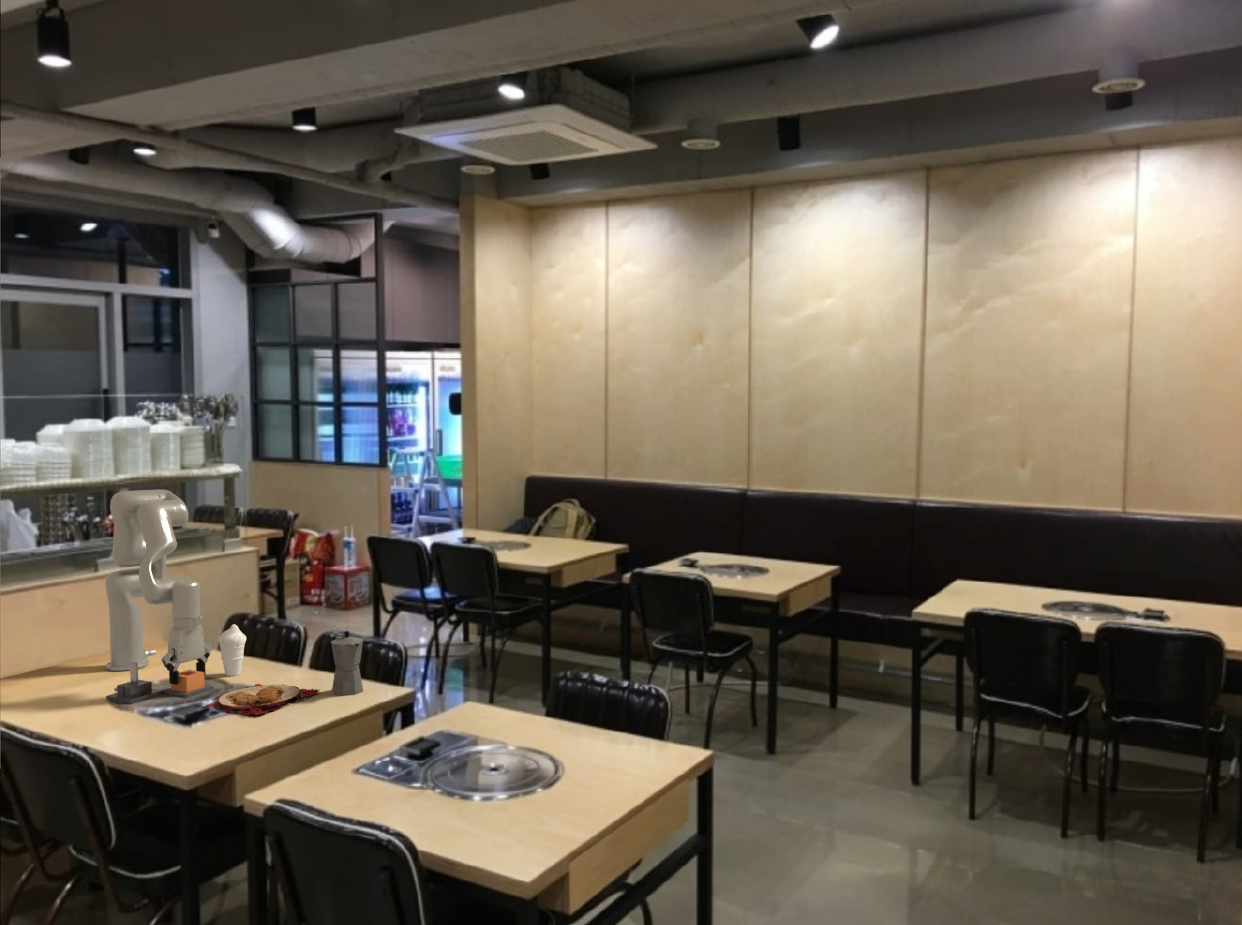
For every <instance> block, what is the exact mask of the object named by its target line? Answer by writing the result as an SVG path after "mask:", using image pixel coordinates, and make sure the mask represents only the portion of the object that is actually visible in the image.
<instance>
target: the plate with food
mask: <svg viewBox="0 0 1242 925" xmlns="http://www.w3.org/2000/svg"><path fill="white" fill-rule="evenodd" d="M319 692H320V689H317V688H315V689H314V688H311V689H307V688H303V687H301V688H299V687H298V686H296V685H295V686H294V685H287V684H280V683H279V684H268V685H266V684H265V685H264V684H260V683H256V684H254V685H253V686H252V685H251V686H249V687H243V688H240V689H236V690H229V691H228V692H225V693H224V694H222V695H221V696H216V698H215V699H214V700H215V701H217V704H214V703H215V701H212V702H211V703H209V704H206V705H204V706H202V708H204V709H210V708H211V707H212V708H213V709H214V708H218V710H219V709H220V710H221V711H220V712H221V713H226V714H234V713H235V711H234V710H236V712H237V713H239V714H240V715H243V716H250V715H251V716H253V715H255V716H259V715H260V716H261V715H266V714H267V713H268V712H275V711H277V709H280V708H282V707H285V706H286V705H288V706H290V705H291V703H290V702H287V701H288V700H290V699H293V698H296V699H297V700H296V701H295V703H296V702H300V701H305V700H307V698H308V697H311V696H313V695H316V694H317V693H319ZM285 702H287V703H285ZM222 709H224V710H223V711H222ZM247 709H249V711H248V710H247Z"/></svg>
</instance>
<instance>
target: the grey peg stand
mask: <svg viewBox="0 0 1242 925" xmlns="http://www.w3.org/2000/svg"><path fill="white" fill-rule="evenodd" d="M129 671H130V673H129V674H130V681H127V682H125V683H121V684H118V685H116V687H114V689H113V691H115V693H111V694H108V695H105V701H110V702H116V703H120V704H121V703H122V704H123V703H124V704H127V705H132V704H136V703H139V702H141V701H142V702H143V701H145V700H149V699H152V698H155V697H159V696H161V695H164V694H163V690H162V689H157V688H153V686H152V681H149V680H143V679H139V668H138V662H132V663H130V670H129Z"/></svg>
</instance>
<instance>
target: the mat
mask: <svg viewBox="0 0 1242 925" xmlns="http://www.w3.org/2000/svg"><path fill="white" fill-rule="evenodd" d="M204 685H205V687H203V688H200V689H197V690H194V691H190V692H181V691H174V690H171V688H167V689H164V690H163V695H168V696H176V697H181V698H189V697H192V696H196V695H199V694H203V693H205V691H206V692H209V691H211V690H210V689H212V690H215V686H213V685H207V684H204ZM208 690H209V691H208ZM202 692H203V693H202Z"/></svg>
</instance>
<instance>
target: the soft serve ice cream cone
mask: <svg viewBox="0 0 1242 925" xmlns="http://www.w3.org/2000/svg"><path fill="white" fill-rule="evenodd" d="M217 641H218V645H219V649H220V655H221V656H220V657H221V658H220V659H221V661H222V665H223V669H224V674H225V676H226V677H235V676H238V675H240V674H241V671H242V665H243V659H244V653H245V652H244V651H245V644H246V641H247V636H246V635H245V634H244V633H243V632H242V631H241V630H240V628H239V627H238V625H236V624H232V625H231V626H229V628H228V629H226V630H225V631H223V632H222V633H220V635H219V637H218V639H217Z"/></svg>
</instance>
